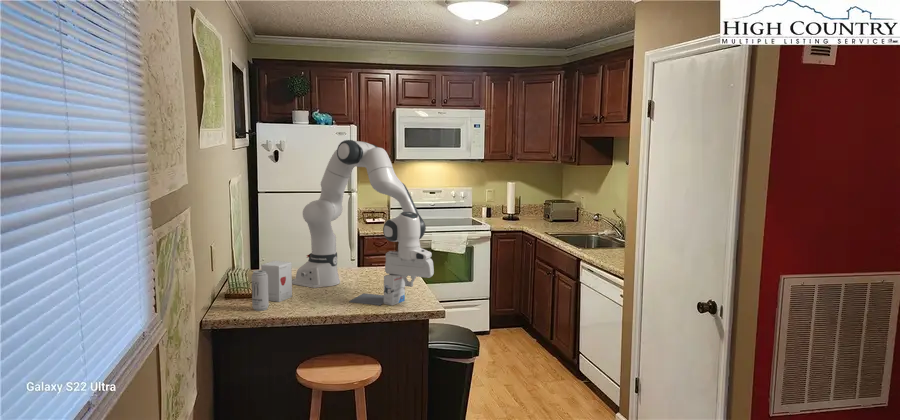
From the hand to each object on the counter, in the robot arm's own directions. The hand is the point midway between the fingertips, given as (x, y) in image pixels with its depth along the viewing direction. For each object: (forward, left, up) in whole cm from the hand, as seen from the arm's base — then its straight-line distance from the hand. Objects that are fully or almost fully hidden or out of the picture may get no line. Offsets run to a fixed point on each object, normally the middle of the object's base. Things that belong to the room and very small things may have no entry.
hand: (408, 286), depth 232 cm
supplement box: (-54, -12, -8) cm, 56 cm away
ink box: (-6, 0, -8) cm, 10 cm away
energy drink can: (-51, -27, -8) cm, 58 cm away
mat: (-17, 0, -7) cm, 18 cm away
